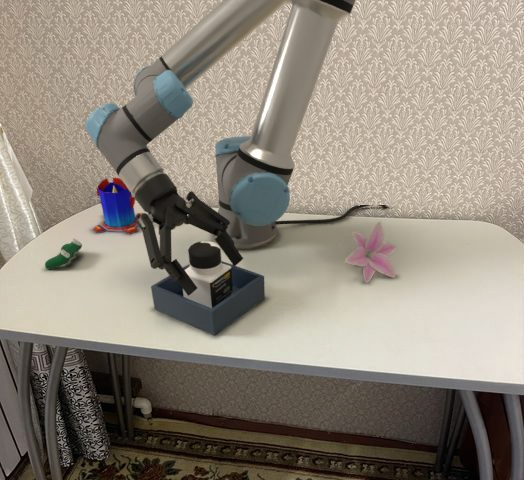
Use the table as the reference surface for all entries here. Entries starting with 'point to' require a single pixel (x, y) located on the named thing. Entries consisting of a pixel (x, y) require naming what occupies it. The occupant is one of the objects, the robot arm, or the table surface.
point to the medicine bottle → (208, 274)
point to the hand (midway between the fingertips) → (216, 276)
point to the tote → (202, 317)
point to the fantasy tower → (117, 207)
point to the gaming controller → (64, 255)
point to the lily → (372, 253)
